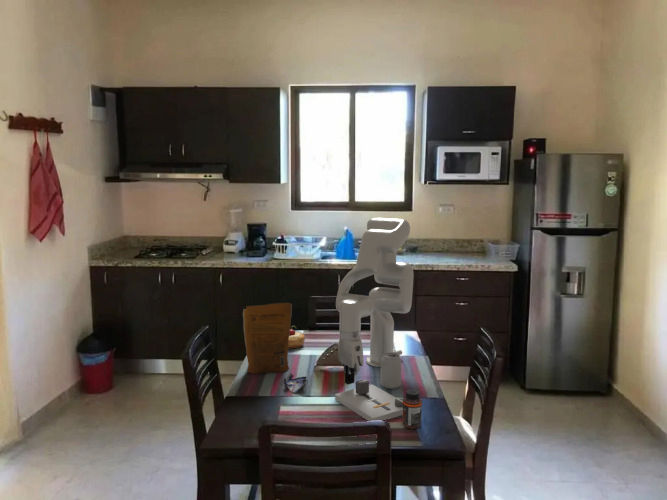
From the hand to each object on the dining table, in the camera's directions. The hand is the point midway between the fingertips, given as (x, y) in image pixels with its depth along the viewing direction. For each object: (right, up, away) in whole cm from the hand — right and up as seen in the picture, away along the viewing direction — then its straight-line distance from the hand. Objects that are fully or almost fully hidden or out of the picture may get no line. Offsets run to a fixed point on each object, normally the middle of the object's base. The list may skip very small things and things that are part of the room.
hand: (349, 382), depth 203 cm
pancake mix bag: (-31, 0, +19) cm, 37 cm away
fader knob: (+4, -2, -6) cm, 8 cm away
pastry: (-25, +5, +51) cm, 57 cm away
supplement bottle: (+19, -8, -25) cm, 32 cm away
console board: (+8, -5, -11) cm, 14 cm away
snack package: (-20, -3, +6) cm, 21 cm away
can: (+16, -3, +6) cm, 17 cm away
